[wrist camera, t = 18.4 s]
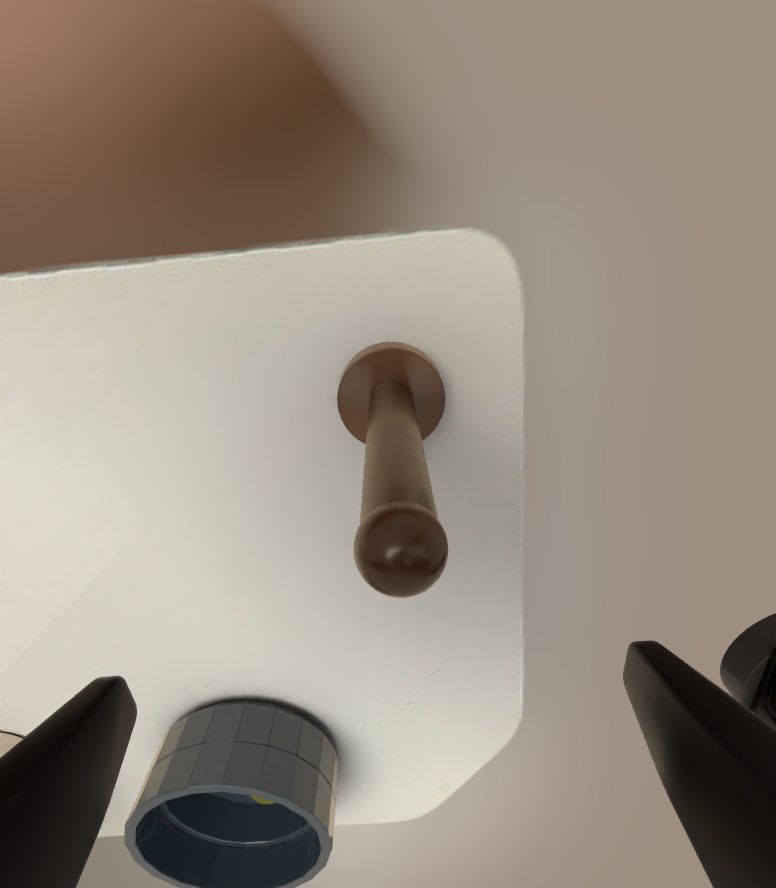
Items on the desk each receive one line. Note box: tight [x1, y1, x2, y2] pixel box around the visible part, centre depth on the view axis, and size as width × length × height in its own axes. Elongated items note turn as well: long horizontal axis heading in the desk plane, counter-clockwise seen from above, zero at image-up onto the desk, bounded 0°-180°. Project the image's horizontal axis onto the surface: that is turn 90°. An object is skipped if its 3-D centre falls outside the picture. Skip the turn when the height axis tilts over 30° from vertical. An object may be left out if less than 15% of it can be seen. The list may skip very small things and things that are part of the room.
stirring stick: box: [337, 342, 448, 598], centre depth 14 cm, size 4×4×12 cm
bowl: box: [125, 701, 339, 888], centre depth 27 cm, size 11×11×5 cm
